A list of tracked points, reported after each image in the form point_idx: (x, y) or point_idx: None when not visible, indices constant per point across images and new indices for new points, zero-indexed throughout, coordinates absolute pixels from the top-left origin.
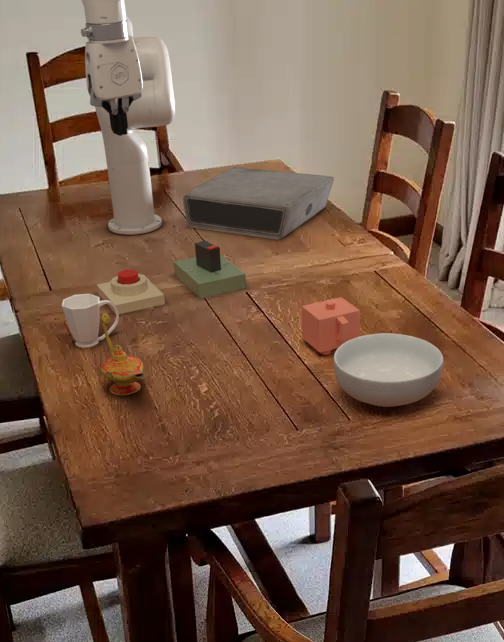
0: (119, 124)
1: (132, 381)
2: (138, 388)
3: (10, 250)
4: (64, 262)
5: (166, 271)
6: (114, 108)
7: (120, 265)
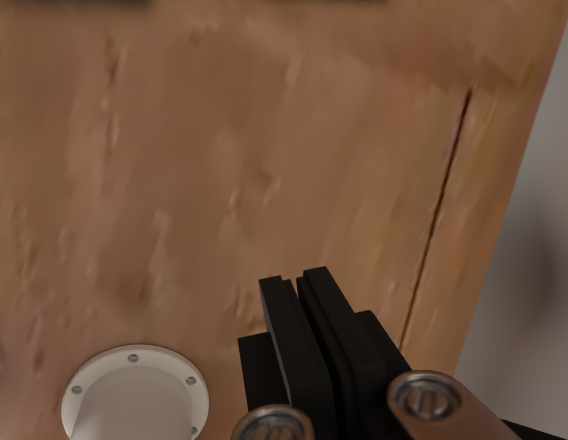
0: (348, 307)
1: None
2: None
3: None
4: (374, 253)
5: (166, 42)
6: (452, 423)
7: (265, 161)
